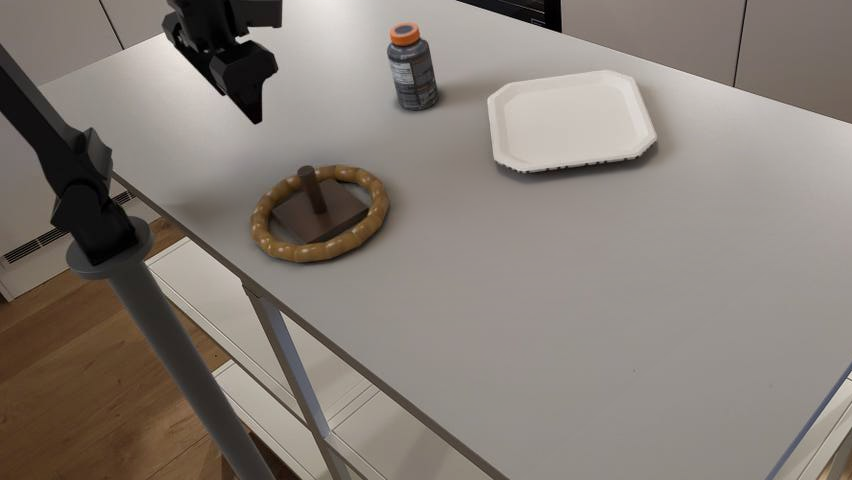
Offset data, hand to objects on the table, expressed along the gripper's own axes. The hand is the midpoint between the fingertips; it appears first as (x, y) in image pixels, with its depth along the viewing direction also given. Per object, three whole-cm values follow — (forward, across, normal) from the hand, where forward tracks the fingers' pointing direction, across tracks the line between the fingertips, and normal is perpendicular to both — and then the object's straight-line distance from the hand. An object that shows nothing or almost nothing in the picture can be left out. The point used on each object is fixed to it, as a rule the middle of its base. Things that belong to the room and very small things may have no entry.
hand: (241, 108), depth 92 cm
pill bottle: (+12, +2, -26) cm, 28 cm away
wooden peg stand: (+12, -11, -2) cm, 16 cm away
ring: (+11, -11, -2) cm, 15 cm away
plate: (+12, -20, -35) cm, 42 cm away
